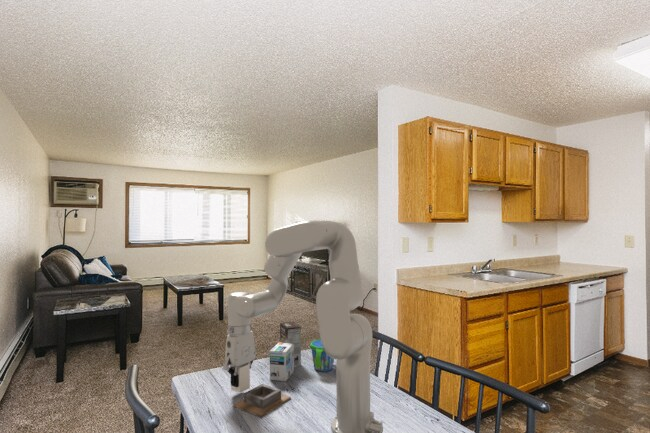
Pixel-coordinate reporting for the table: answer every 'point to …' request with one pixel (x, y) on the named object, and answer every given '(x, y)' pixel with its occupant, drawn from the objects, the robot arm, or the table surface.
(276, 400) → the socket
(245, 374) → the off-white rectangular box
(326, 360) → the snack cup
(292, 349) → the light bulb box
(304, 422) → the table surface
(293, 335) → the coffee box
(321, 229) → the robot arm
